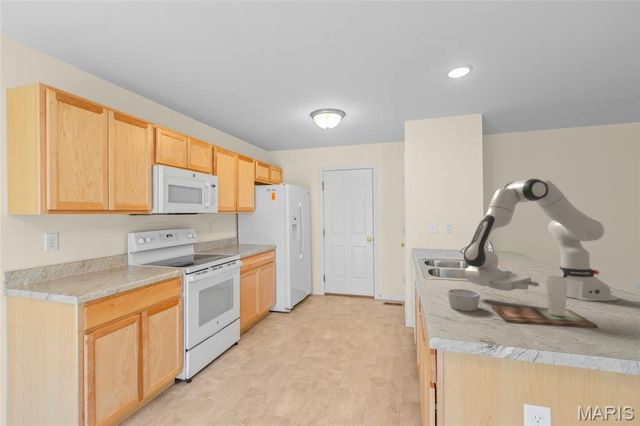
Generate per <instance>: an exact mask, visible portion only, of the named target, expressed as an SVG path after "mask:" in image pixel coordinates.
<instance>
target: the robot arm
mask: <svg viewBox="0 0 640 426" xmlns="http://www.w3.org/2000/svg"><path fill="white" fill-rule="evenodd" d="M527 202H536V203H537V205H538V206H539V207H540V208H541V209H542V212H544V214H545V215H546V216H547V217H548V219H550V220H551V221H550V222H549V223H548V227H547V230H548V232H549V234H550V236H552V237H553V238H554V239H555V242H556V244H557V246H558V249H559V252H560V254H559V255H560V266H559V277H565V278H567V282H568V289H567V298H571V299H576V300H580V301H586V302H589V301H590V302H594V301H595V302H596V301H597V302H599V301H602V302H608V301H609V302H615V301H617V302H618V300H619V298H618V297H617V296H615V295H613V294H612V291H611V289H610V287H609V285H608V284H606V283H605V282H603V281H602V280H601V279H599V278H597V277H596V276H595V275H599V274H600V273H601V272H600V271H599V270H597V269H592V268H590V265H591V264H590V252H589V251H588V250H587V249H586V248H584V247H583V245H582V243H581V242H593V241H598V240H600V239H601V238H602V237H603V236H604V234H605V227H604V225H603V223H602V222H600V221H599V220H596V219H593V218H592V217H589V216H588V215H586V214H584V212H582V211H580V210H579V209H578V208H576V207H575V206H574V204H572V202H570V200H569V199H568V198H567V197H566V195H565V194H564V193H563V192H562V191H561V189H559V187H558V186H557V185H555V184H554V183H553V182H552V181H550V180H549V179H538V178H531V179H519V180H518V181H512V182H509V183H507V184H506V185H505V186H504V187H501V188H498V189H497V190H495V192H494V194H493V196H492V198H491V200H490V202H489V205H488V208H487V210H486V213H485V215H484V216H483V217H482V218H481V220H480V221H479V223H478V226H477V228H476V229H475V232H474V235H473V237H472V239H471V241H470V243H469V244H468V246H467V247H466V249H464V252H463V261H464V262H465V263H466V265H468V267H466V268H465V270H464V277H465V279H466V281H467V282H469V283H470V284H473V285H475V286H476V285H477V286H480V287H488V288H491V289H494V290H499V291H513V290H528V289H529V286H533V287H539V285H540V283H539V281H534V280H532V277H531V276H528V275H524V274H519V273H514V272H513V271H510V270H508V271H506V270H505V271H504V270H498V265H499V256H498V255H497V253H495V252H493V251H491V250H489V249H486V244H487V242H488V240H489V238H490V235H491V234H492V232H493V231H494V230H496V229H499V228H504V227H506V226H507V225H509V224H510V223H511V221H512V219H513V216H514V213H515V209H516V205H518V203H527Z"/></svg>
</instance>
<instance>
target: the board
mask: <svg viewBox="0 0 640 426" xmlns="http://www.w3.org/2000/svg"><path fill="white" fill-rule="evenodd" d="M491 309H493V311H494V312H495V313H496V314H497V315H498V316H500V318H501V319H503V321H504V322H505V323H513V324H530V325H531V324H533V325H545V326H547V325H548V326H560V327H561V326H563V327H577V328H592V329H598V324H596V323H594V322H593V321H591V320H589V319H588V318H585V317H583V316H582V315H580V314H579V313H576V312H575V311H573V310H571V309H570V308H569V309H566V308H565V316H554V315H551V314H549V312H548V307H545V308H544V307H528V306H509V305H508V306H505V305H491Z"/></svg>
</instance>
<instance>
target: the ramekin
mask: <svg viewBox="0 0 640 426" xmlns="http://www.w3.org/2000/svg"><path fill="white" fill-rule="evenodd" d="M447 295H448V302H449V305H450V307H451V308H453V310H455V311H456V310H457V311H460V312H475V311H476V310H478V308H479V303H480V298H481V294H480V293H479V292H477V291H475V290H471V289H464V288H453V289H449V290H448V291H447Z"/></svg>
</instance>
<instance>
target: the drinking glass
mask: <svg viewBox="0 0 640 426" xmlns="http://www.w3.org/2000/svg"><path fill="white" fill-rule="evenodd" d="M545 287H546V298H547V299H546V300H547V306H548V307H547V308H548V312H549V314H551V315H554V316H565V309H566V305H567V298H568V297H567V289H568V282H567V278H565V277H560V275H559V276H558V275H547V276H546V279H545Z"/></svg>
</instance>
